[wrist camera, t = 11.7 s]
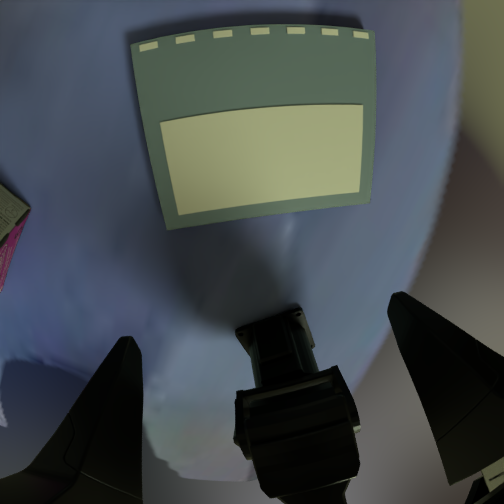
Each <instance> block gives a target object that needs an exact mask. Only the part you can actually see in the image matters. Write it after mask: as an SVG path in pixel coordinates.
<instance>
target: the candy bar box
mask: <svg viewBox="0 0 504 504" xmlns="http://www.w3.org/2000/svg"><path fill="white" fill-rule="evenodd" d="M30 211H31V208H30V207H29V206H28V205H27V204H26V203H25V202H24V201H23V200H21V199H20V198H19V197H17V196H16V195H14V194H13V193H12V192H11V191H9V190H8V189H7V188H6V187H5V186H4V185H3V184H1V183H0V292H1V291H2V288H3V285H4V281H5V278H6V275H7V271H8V268H9V265H10V262H11V259H12V256H13V253H14V250H15V247H16V245H17V242H18V239H19V237H20V234H21V232H22V229H23V227H24V224H25V222H26V219H27V217H28V215H29V213H30Z"/></svg>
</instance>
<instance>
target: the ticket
mask: <svg viewBox="0 0 504 504" xmlns="http://www.w3.org/2000/svg"><path fill="white" fill-rule="evenodd" d="M130 45H131V53H132V60H133V67H134V74H135V81H136V87H137V93H138V99H139V105H140V111H141V116H142V121H143V127H144V132H145V137H146V142H147V147H148V152H149V156H150V161H151V166H152V170H153V175H154V179H155V183H156V188H157V192H158V196H159V200H160V204H161V208H162V212H163V216H164V220H165V224H166V228H167V230H173V229H179V228H185V227H192V226H198V225H205V224H211V223H218V222H225V221H231V220H238V219H245V218H252V217H260V216H267V215H275V214H282V213H290V212H298V211H306V210H314V209H322V208H331V207H339V206H348V205H357V204H366V203H370V196H371V186H372V175H373V162H374V147H375V126H376V51H375V32H374V31H371V30H364V29H356V28H347V27H337V26H324V25H302V24H267V25H246V26H233V27H223V28H214V29H206V30H198V31H192V32H186V33H180V34H174V35H169V36H164V37H159V38H155V39H150V40H146V41H142V42H138V43H134V44H130Z"/></svg>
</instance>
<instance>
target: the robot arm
mask: <svg viewBox="0 0 504 504" xmlns="http://www.w3.org/2000/svg"><path fill="white" fill-rule="evenodd" d="M387 314H388V318H389V320H390V323H391V326H392V329H393V332H394V335H395V338H396V341H397V345H398V347H399V350H400V353H401V355H402V357H403V360H404V362H405V364H406V367H407V369H408V371H409V374H410V376H411V378H412V381H413V383H414V386H415V388H416V391H417V393H418V395H419V398H420V401H421V403H422V406H423V408H424V411H425V414H426V416H427V419H428V422H429V424H430V427H431V430H432V433H433V436H434V439H435V441H436V445H437V448H438V451H439V453H440V457H441V460H442V463H443V466H444V469H445V473H446V476H447V479H448V483H449V485H450V486H451V485H453V484H455V483H457V482H459V481H461V480H463V479H465V478H467V477H469V476H471V475H473V474H475V473H477V472H479V471H481V473H482V476H481V477H479V478H478V479H476V480H475V481H473V484H472V487H471V489H470V492H469V494H468V497H467V499H466V502H465V504H504V357H503V356H501V355H500V354H498V353H497V352H495V351H493V350H492V349H490V348H489V347H487V346H486V345H484V344H483V343H481V342H480V341H478V340H475V338H474V337H472V336H471V335H469V334H468V333H466V332H465V331H463V330H462V329H460V328H459V327H458V326H456V325H455V324H453V323H452V322H450V321H449V320H447V319H445V318H444V317H442V316H441V315H439V314H438V313H436V312H435V311H433V310H432V309H430V308H429V307H427V306H426V305H424V304H422V303H421V302H419V301H417V300H416V299H415V298H413V297H411V296H410V295H408V294H407V293H405V292H403V291H400V292H396V293H393V294H392V296H391V299H390V302H389V305H388V309H387ZM235 335H236V337H237V339H238V340H239V342H240V343H241V345H242V346H243V347H244V349H245V350H246V352H247V353H248V355H249V356H250V358H251V363H252V369H253V375H254V381H255V387H256V388H253V389H248V390H244V391H243V390H239V391H236V399H235V430H234V437H233V440H234V443H235V444H236V445H237V446H239V447H240V448H241V450H242V452H243V455H244V456H245V458H246V459H247V460H252V461H253V464H254V468H255V471H256V474H257V478H258V481H259V483H260V488H261V489H262V491H263V492H264V493H265V494H266V495H267V496H268V497H269V498H278V499H279V500H281V501H282V502H283V503H284V504H347V502H346V498H345V491H346V489H347V487H348V485H349V482H350V480H351V479H352V478H355V477H356V476H357V474H358V471H359V467H360V460H359V453H358V448H357V443H356V438H355V433H357V432H360V420H359V416H358V412H357V408H356V405H355V402H354V399H353V397H352V395H351V393H350V391H349V389H348V387H347V385H346V382H345V380H344V378H343V376H342V374H341V372H340V370H339V368H338V366H337V365H336V366H332V367H331V368H329V369H326V370H323V371H319V369H318V366H317V363H316V360H315V357H314V354H313V351H312V349H313V348H314V347H315V343H314V341H313V338H312V335H311V332H310V329H309V326H308V324H307V321H306V318H305V315H304V312H303V310H302V308H295V309H292V310H289V311H287V312H284V313H281V314H278V315H276V316H273V317H270V318H267V319H264V320H261V321H258V322H255V323H252V324H249V325H246V326H243V327H240V328H238V329H236V330H235ZM142 418H143V375H142V354H141V351H140V349H139V347H138V345H137V343H136V342H135V340H134V338H133V337H132V336H123V337H120V338H119V339H118V341H117V342H116V344H115V345H114V346H113V348H112V349H111V351H110V352H109V353H108V355H107V356H106V358H105V359H104V360H103V362H102V363H101V365H100V366H99V368H98V369H97V370H96V372H95V373H94V375H93V376H92V378H91V379H90V381H89V382H88V384H87V385H86V387H85V388H84V390H83V391H82V392H81V394H80V395H79V397H78V398H77V400H76V401H75V403H74V404H73V406H72V407H71V409H70V410H69V413H67V415H66V417H65V418H64V420H63V421H62V423H61V424H60V425H59V427H58V428H57V430H56V431H55V433H54V434H53V435H52V437H51V438H50V439H49V441H48V442H47V443H46V444H45V446H44V447H43V448H42V450H41V451H40V452H39V454H38V455H37V456H36V457H35V459H34V460H33V461H32V462H31V464H30V465H29V466H28V467H27V468H25V469H24V470H22V471H20V472H18V473H15V474H13V475H10V476H7V477H5V478H1V479H0V504H143V500H142Z"/></svg>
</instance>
